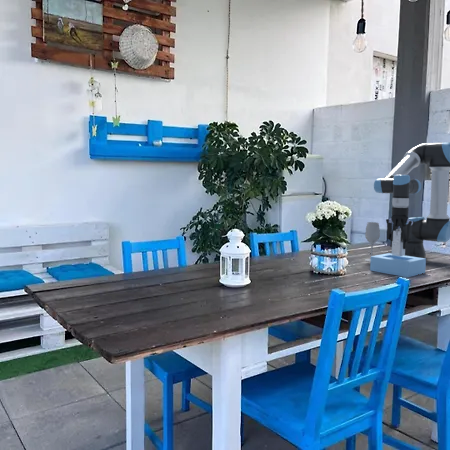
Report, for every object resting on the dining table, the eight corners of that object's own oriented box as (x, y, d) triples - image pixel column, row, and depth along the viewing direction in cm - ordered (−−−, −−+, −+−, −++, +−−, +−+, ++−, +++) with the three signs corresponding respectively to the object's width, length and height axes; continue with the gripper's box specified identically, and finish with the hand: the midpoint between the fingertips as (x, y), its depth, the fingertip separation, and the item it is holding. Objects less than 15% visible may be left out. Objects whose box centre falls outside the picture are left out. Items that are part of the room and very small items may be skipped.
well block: (388, 266, 242) (388, 253, 242) (425, 272, 227) (426, 258, 226) (370, 270, 232) (370, 256, 231) (407, 277, 217) (408, 262, 216)
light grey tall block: (396, 254, 232) (397, 228, 230) (404, 255, 228) (405, 228, 227) (392, 255, 229) (393, 228, 228) (399, 256, 226) (400, 229, 225)
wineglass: (380, 261, 255) (382, 223, 253) (366, 261, 255) (367, 223, 253) (376, 259, 263) (377, 222, 260) (362, 259, 263) (364, 222, 261)
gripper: (380, 206, 230) (378, 253, 233) (412, 208, 217) (410, 258, 220) (388, 205, 235) (386, 251, 238) (421, 207, 222) (418, 256, 225)
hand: (398, 254), depth 229 cm, fingers closed on light grey tall block, 4 cm apart
